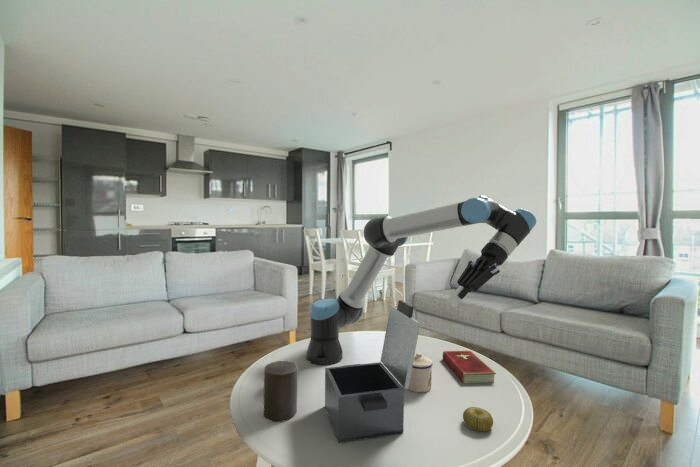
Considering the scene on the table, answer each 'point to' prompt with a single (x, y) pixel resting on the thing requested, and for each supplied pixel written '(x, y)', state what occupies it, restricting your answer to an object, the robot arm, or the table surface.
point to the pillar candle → (280, 391)
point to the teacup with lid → (421, 374)
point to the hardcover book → (468, 367)
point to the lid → (400, 342)
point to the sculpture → (478, 419)
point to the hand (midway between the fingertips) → (450, 304)
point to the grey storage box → (363, 402)
